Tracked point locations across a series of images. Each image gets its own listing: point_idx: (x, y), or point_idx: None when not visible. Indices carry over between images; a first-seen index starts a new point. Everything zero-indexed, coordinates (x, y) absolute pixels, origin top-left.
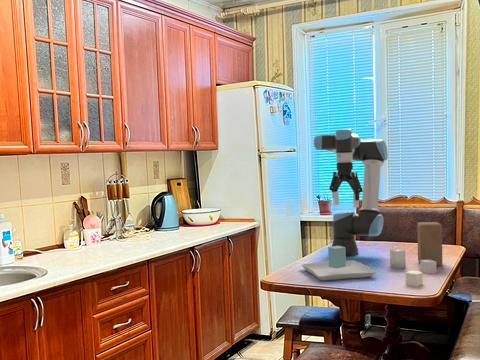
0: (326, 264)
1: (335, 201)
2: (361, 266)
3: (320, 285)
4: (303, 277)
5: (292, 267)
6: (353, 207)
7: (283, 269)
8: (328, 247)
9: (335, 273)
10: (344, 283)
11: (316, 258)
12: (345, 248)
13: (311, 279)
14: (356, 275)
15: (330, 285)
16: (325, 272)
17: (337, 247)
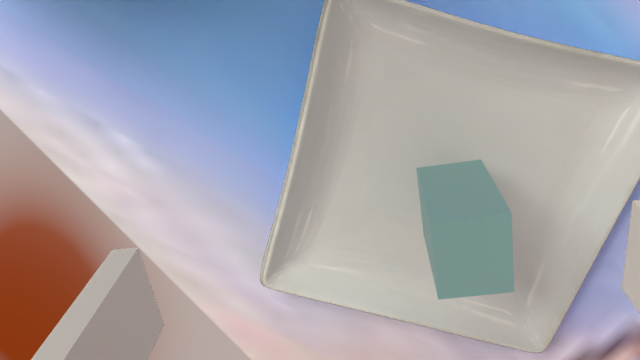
0: (306, 166)
1: (133, 353)
2: (487, 39)
3: (572, 352)
4: (412, 336)
5: (204, 278)
6: (623, 289)
7: (225, 328)
8: (441, 298)
9: None
10: (619, 262)
11: (28, 51)
12: (508, 208)
13: None
14: (614, 184)
15: (601, 324)
16: (398, 222)
17: (485, 261)
